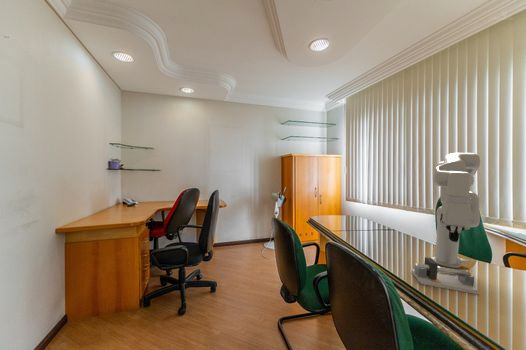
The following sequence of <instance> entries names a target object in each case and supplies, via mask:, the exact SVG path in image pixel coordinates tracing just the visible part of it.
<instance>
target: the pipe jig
mask: <svg viewBox="0 0 526 350" xmlns="http://www.w3.org/2000/svg"><path fill="white" fill-rule="evenodd" d="M427 270H428V271H429V265H425V264H424V263H419V262H417V263H414V268H412V269H411V273H412V274H413V276H414V277H415V278H416V279H417V281H418V282H419V283H420V285H425V286H432V287H435V288H441V289H447V290H453V291H458V292H463V293H469V294H475V295H479V289H477V288H476V287H475V286H474V281H475V276H473V275H472V274H471V272H470V271H468V270H462V269H458V268H451V267H445V266H438V269H437V280H435V279H430V278H429V277H428V276H427V275H426V274H427Z"/></svg>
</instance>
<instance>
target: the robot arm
mask: <svg viewBox="0 0 526 350" xmlns="http://www.w3.org/2000/svg"><path fill="white" fill-rule="evenodd" d="M480 165H481V157H480V155H478V154H477V153H474V152H452V153H451V152H450V153H449V154H447V155H445V157H444V158H443V161H440V162H439V163H437V165H436V168H435V169H434V171H433V178H432V179H433V182H434V185H435V186H437V187H440V198H439V199H440V202H441V204H442V205H441V206H438V208H437V209H436V222H437V223H436V227H437V228H436V240H435V251H434V256H432V257H430V258H431V259H433V260H434V261H435V262H436V263H437V264H438V265H440V266H442V267H445V268H451V269H460V268H461V267H462V264H466V265H469V264H470V261H469V260H468V259H464V258H461V257H459V247H460V234H461V233H462V232H464V231H466V230H468V231H469V230H470V229H471V228H476V227H478V226H479V225H480V224H481V223H480V222H481V215H480V199H479V195H478V194H477V192H473V191H471V186H473V185H474V182H475V178H474V176H475V175H476V174H477V171H478V169H479V168H480Z"/></svg>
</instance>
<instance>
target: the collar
mask: <svg viewBox="0 0 526 350" xmlns="http://www.w3.org/2000/svg"><path fill="white" fill-rule="evenodd" d="M431 258H432V257H426V256H425V257H424V263H423V264H425V265H429V271H428V270H427V274H426V275H427V276H428V277H429V278H430V279H435V280H437V273H438V272H437V269H438V267H439V264H437V263H436V262H435V261H434V260H433V259H431Z"/></svg>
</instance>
